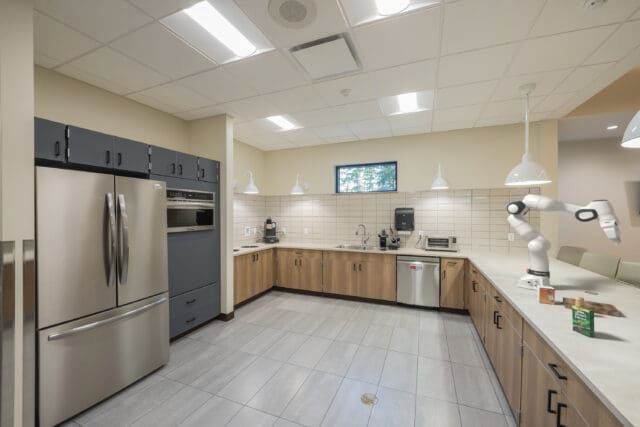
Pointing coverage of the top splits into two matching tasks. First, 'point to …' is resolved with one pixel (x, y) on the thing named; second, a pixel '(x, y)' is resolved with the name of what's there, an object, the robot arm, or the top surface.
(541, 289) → the small box
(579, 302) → the oak peg
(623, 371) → the top surface
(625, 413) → the top surface
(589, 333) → the coffee box
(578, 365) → the top surface
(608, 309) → the walnut board
